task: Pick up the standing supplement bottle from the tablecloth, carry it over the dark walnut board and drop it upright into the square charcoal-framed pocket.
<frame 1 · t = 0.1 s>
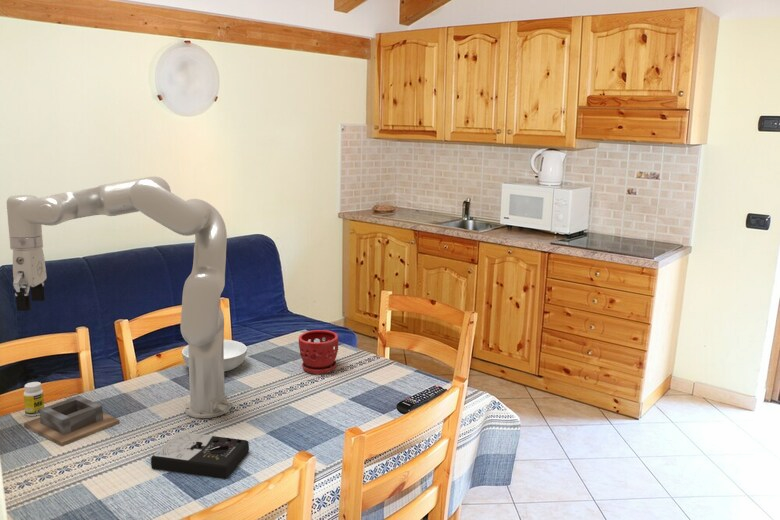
hand: (31, 305, 171), 31 cm above the table, tool pointing down, fingers open, 9 cm apart
pocket board: (72, 424, 170), on the table
plant pot: (318, 370, 215), on the table
multimeter: (201, 462, 154), on the table
supplement bottle: (35, 413, 177), on the table
serving bowl: (215, 368, 213), on the table
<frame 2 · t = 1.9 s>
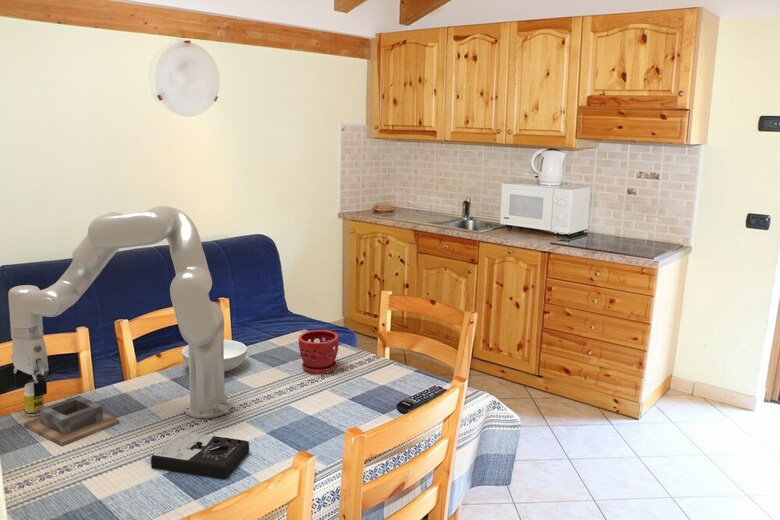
hand: (31, 390, 176), 7 cm above the table, tool pointing down, fingers open, 9 cm apart
nothing on the table moved.
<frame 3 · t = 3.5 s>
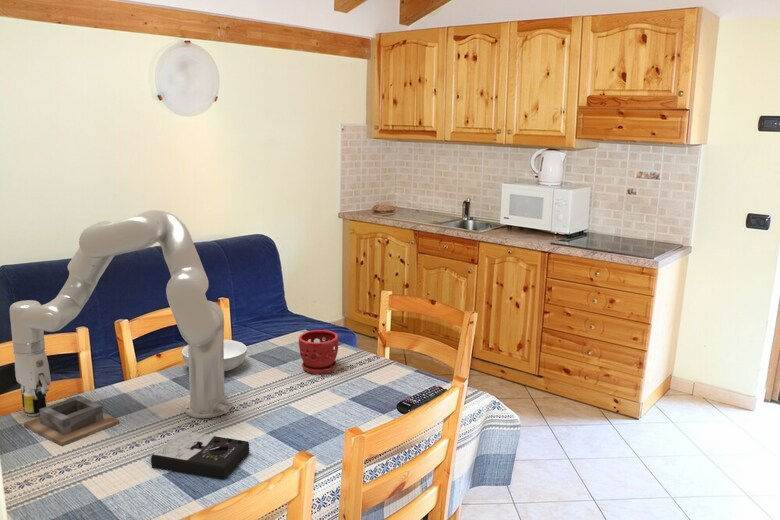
hand: (34, 408, 177), 1 cm above the table, tool pointing down, fingers closed on supplement bottle, 4 cm apart
supplement bottle: (35, 413, 177), on the table, touching gripper
everything else where it was.
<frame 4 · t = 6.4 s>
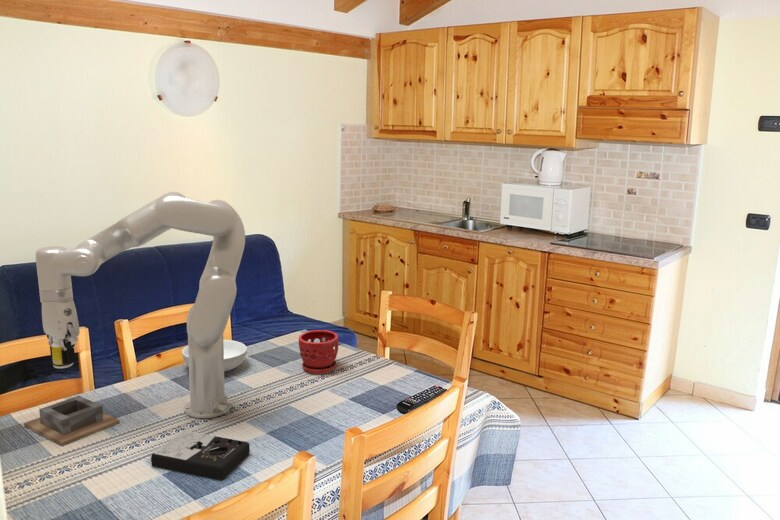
hand: (63, 360, 168), 18 cm above the table, tool pointing down, fingers closed on supplement bottle, 4 cm apart
supplement bottle: (63, 366, 168), point 16 cm above the table, touching gripper
everything else where it was.
when the fingers open (5 cm above the table, at t = 9.2 s): supplement bottle drops 3 cm, resting on pocket board.
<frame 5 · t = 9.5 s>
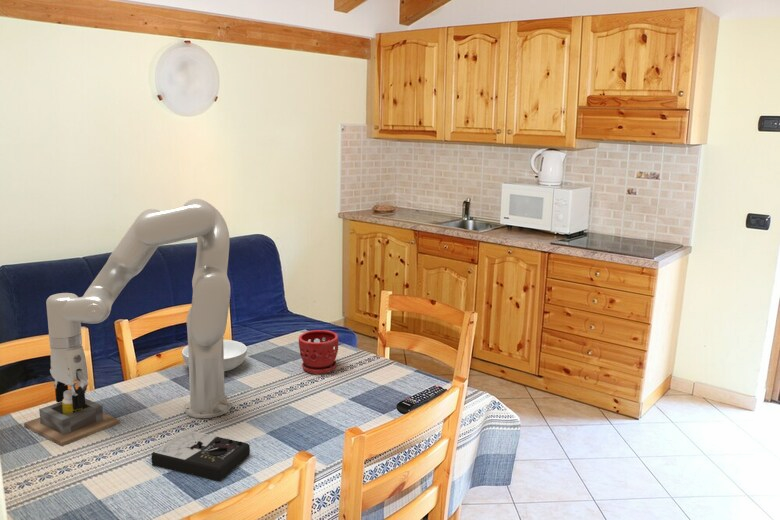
hand: (70, 403, 169), 6 cm above the table, tool pointing down, fingers open, 7 cm apart
supplement bottle: (73, 421, 170), point 1 cm above the table, touching pocket board
everything else where it was.
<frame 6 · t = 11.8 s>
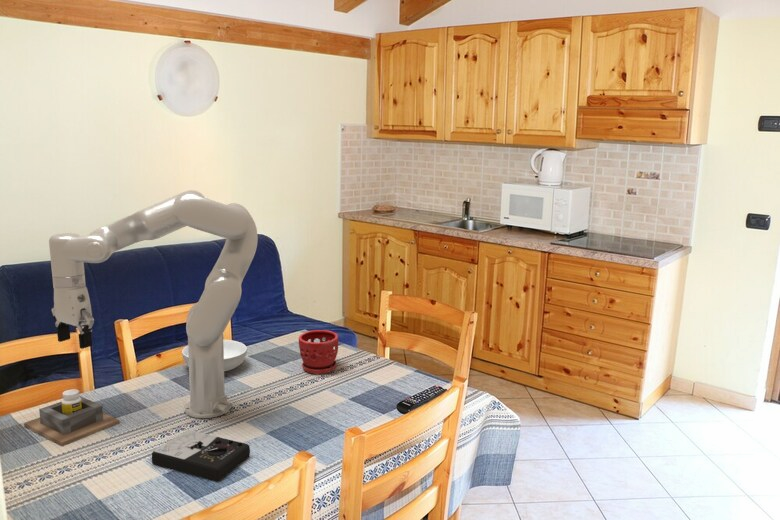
hand: (75, 343, 169), 22 cm above the table, tool pointing down, fingers open, 9 cm apart
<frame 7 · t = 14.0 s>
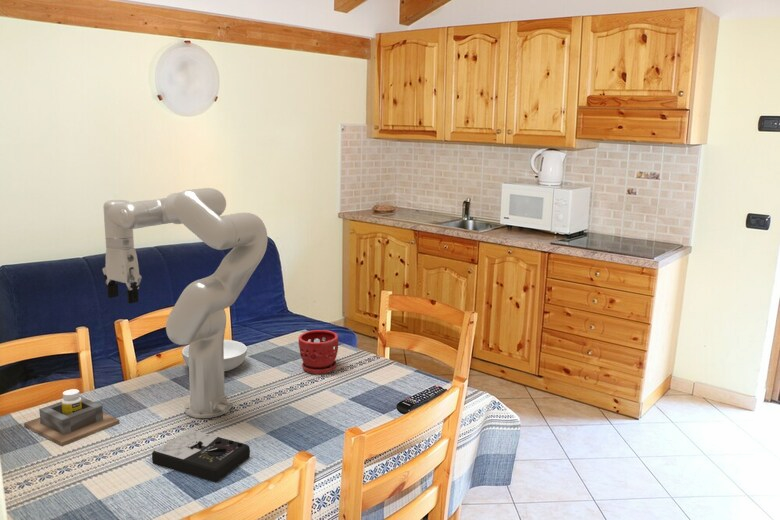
hand: (123, 299, 188), 28 cm above the table, tool pointing down, fingers open, 9 cm apart
at the end: supplement bottle 0.2 cm off-centre on the pocket board, point 0.8 cm above the pocket board's base; supplement bottle tilted 0°; the gripper is holding nothing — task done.
